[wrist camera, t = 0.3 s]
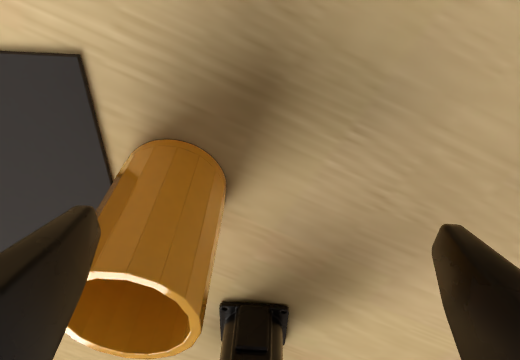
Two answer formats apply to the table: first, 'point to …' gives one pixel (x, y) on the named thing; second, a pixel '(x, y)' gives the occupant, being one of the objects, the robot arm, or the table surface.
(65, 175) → the mat
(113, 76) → the table surface
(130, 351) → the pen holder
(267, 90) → the table surface
